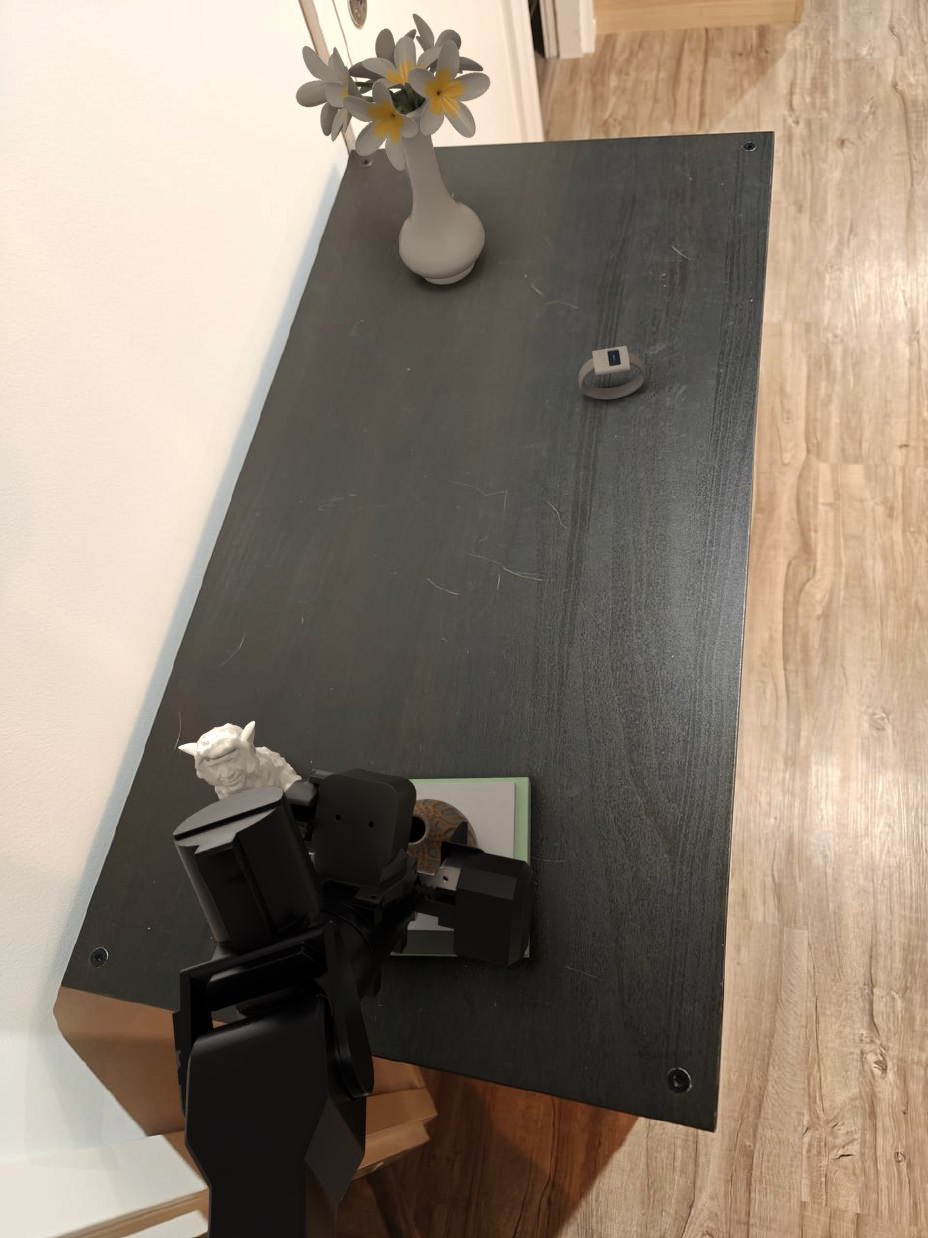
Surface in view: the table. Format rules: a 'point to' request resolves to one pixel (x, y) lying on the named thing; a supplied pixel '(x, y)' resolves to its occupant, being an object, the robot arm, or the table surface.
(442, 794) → the scale
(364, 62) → the flower vase
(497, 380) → the table surface
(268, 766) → the sitting furry creature
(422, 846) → the vase
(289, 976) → the robot arm
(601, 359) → the wristwatch
